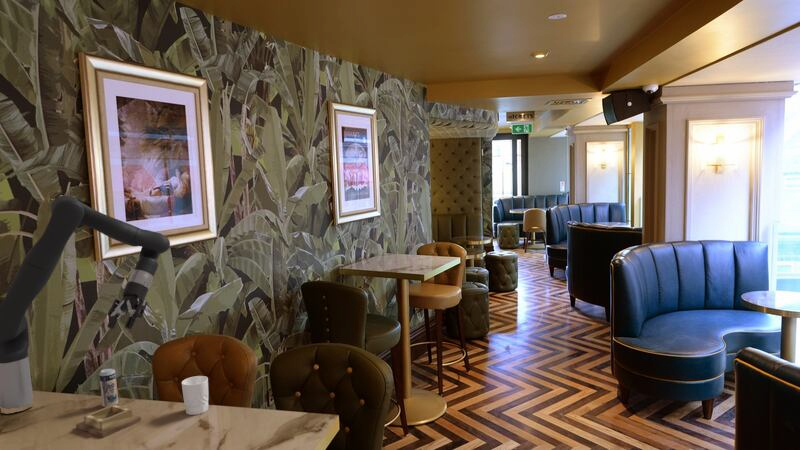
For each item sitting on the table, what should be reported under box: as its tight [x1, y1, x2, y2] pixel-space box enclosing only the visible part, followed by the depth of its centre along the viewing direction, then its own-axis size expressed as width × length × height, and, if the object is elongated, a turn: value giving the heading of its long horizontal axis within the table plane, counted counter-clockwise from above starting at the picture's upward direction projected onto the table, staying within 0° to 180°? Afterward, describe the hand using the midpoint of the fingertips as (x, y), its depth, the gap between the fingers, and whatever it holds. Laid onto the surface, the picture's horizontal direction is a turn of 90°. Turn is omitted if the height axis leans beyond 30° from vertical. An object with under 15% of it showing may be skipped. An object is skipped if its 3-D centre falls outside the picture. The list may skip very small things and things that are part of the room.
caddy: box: [75, 404, 142, 438], centre depth 168 cm, size 14×12×4 cm
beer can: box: [99, 367, 119, 408], centre depth 183 cm, size 5×5×12 cm
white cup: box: [181, 375, 209, 416], centre depth 175 cm, size 8×8×10 cm
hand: (118, 328), depth 187 cm, fingers open, 8 cm apart
